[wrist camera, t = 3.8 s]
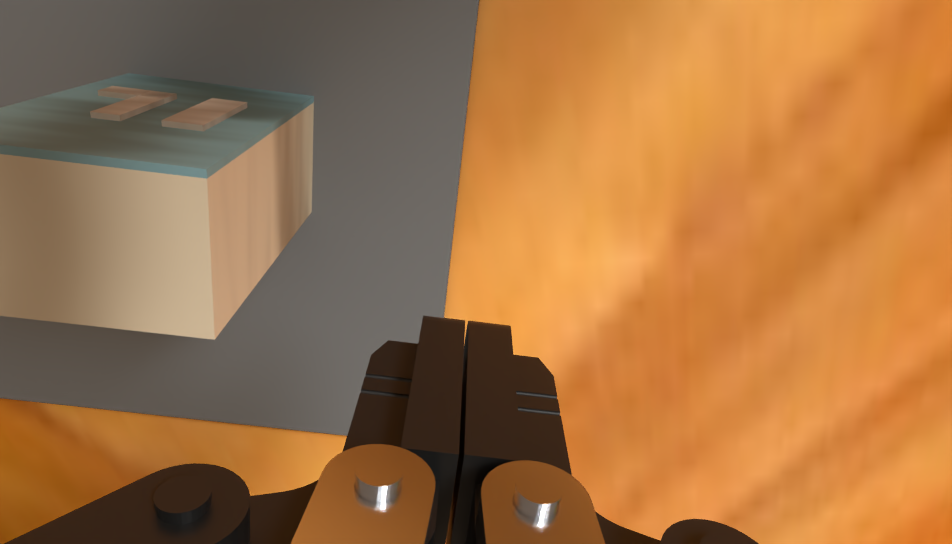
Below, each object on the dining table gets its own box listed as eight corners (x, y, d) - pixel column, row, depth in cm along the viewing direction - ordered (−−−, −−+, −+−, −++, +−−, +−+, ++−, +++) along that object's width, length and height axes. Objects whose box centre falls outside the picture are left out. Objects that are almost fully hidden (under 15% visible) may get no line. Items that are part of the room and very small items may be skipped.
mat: (487, -72, 20) (487, -72, 20) (430, 439, 28) (429, 444, 27) (-267, -171, 19) (-279, -173, 19) (-111, 381, 27) (-117, 385, 27)
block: (313, 91, 22) (206, 162, 14) (311, 211, 23) (214, 339, 15) (127, 68, 22) (-96, 126, 13) (139, 191, 23) (-54, 309, 15)
